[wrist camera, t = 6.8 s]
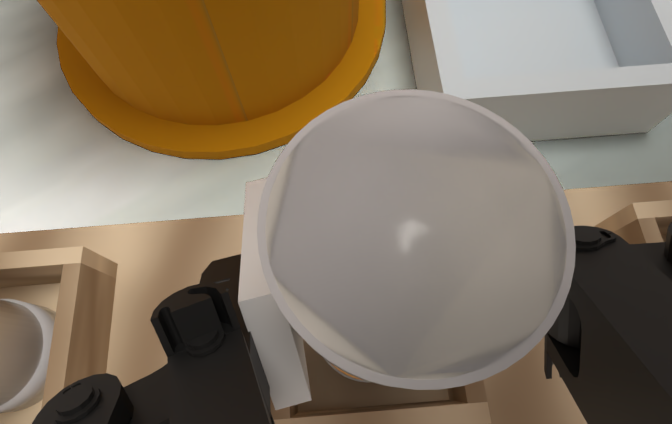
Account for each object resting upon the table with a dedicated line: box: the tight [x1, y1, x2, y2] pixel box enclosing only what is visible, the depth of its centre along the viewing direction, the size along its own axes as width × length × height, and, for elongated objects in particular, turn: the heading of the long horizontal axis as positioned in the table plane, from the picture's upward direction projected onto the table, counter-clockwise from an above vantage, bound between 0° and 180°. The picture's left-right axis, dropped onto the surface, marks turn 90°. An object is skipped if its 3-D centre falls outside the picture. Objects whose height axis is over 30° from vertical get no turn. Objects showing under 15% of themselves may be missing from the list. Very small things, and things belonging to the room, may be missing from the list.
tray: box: [401, 0, 672, 141], centre depth 22 cm, size 11×11×4 cm
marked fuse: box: [257, 89, 576, 390], centre depth 11 cm, size 4×4×12 cm
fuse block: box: [0, 181, 672, 424], centre depth 16 cm, size 34×10×4 cm, turn 94°
